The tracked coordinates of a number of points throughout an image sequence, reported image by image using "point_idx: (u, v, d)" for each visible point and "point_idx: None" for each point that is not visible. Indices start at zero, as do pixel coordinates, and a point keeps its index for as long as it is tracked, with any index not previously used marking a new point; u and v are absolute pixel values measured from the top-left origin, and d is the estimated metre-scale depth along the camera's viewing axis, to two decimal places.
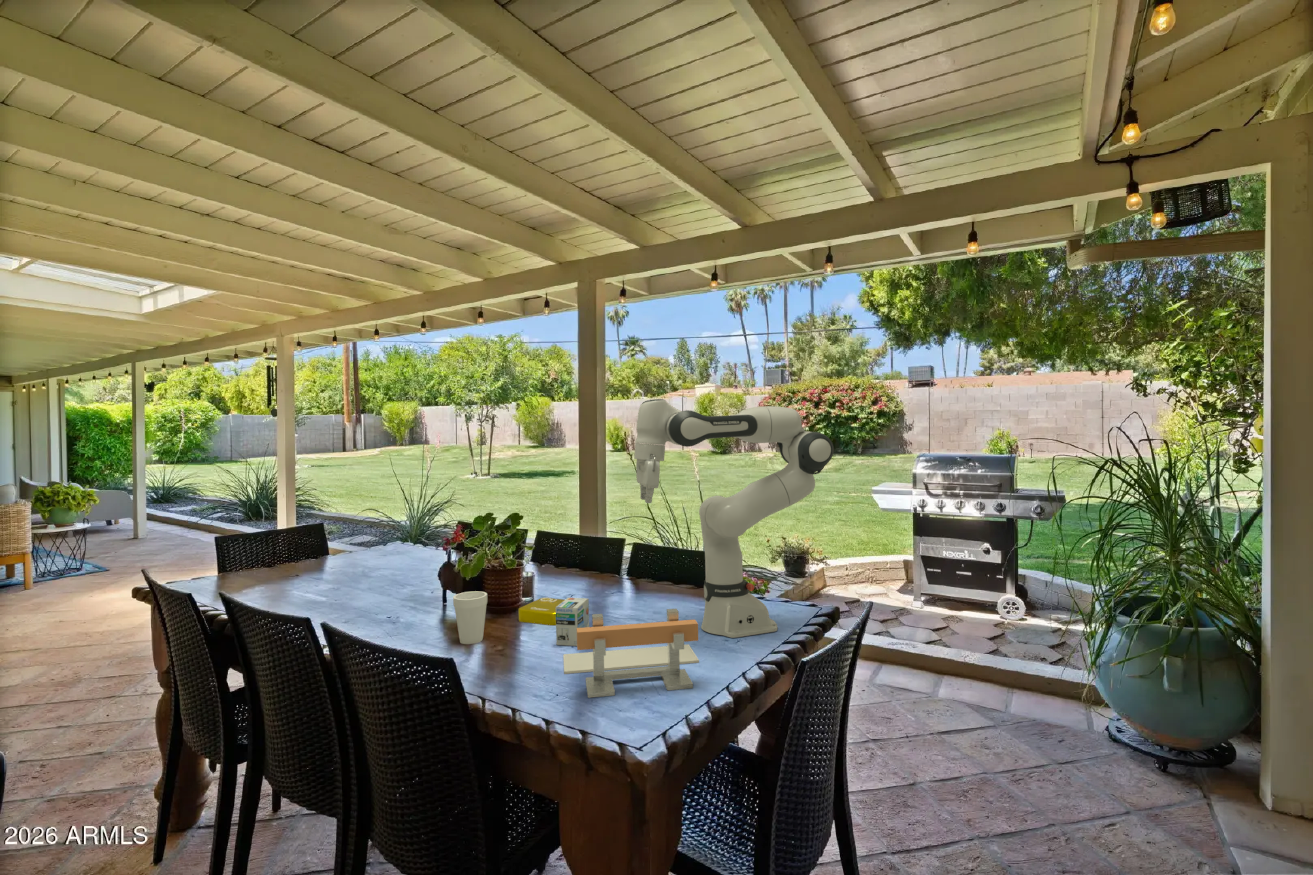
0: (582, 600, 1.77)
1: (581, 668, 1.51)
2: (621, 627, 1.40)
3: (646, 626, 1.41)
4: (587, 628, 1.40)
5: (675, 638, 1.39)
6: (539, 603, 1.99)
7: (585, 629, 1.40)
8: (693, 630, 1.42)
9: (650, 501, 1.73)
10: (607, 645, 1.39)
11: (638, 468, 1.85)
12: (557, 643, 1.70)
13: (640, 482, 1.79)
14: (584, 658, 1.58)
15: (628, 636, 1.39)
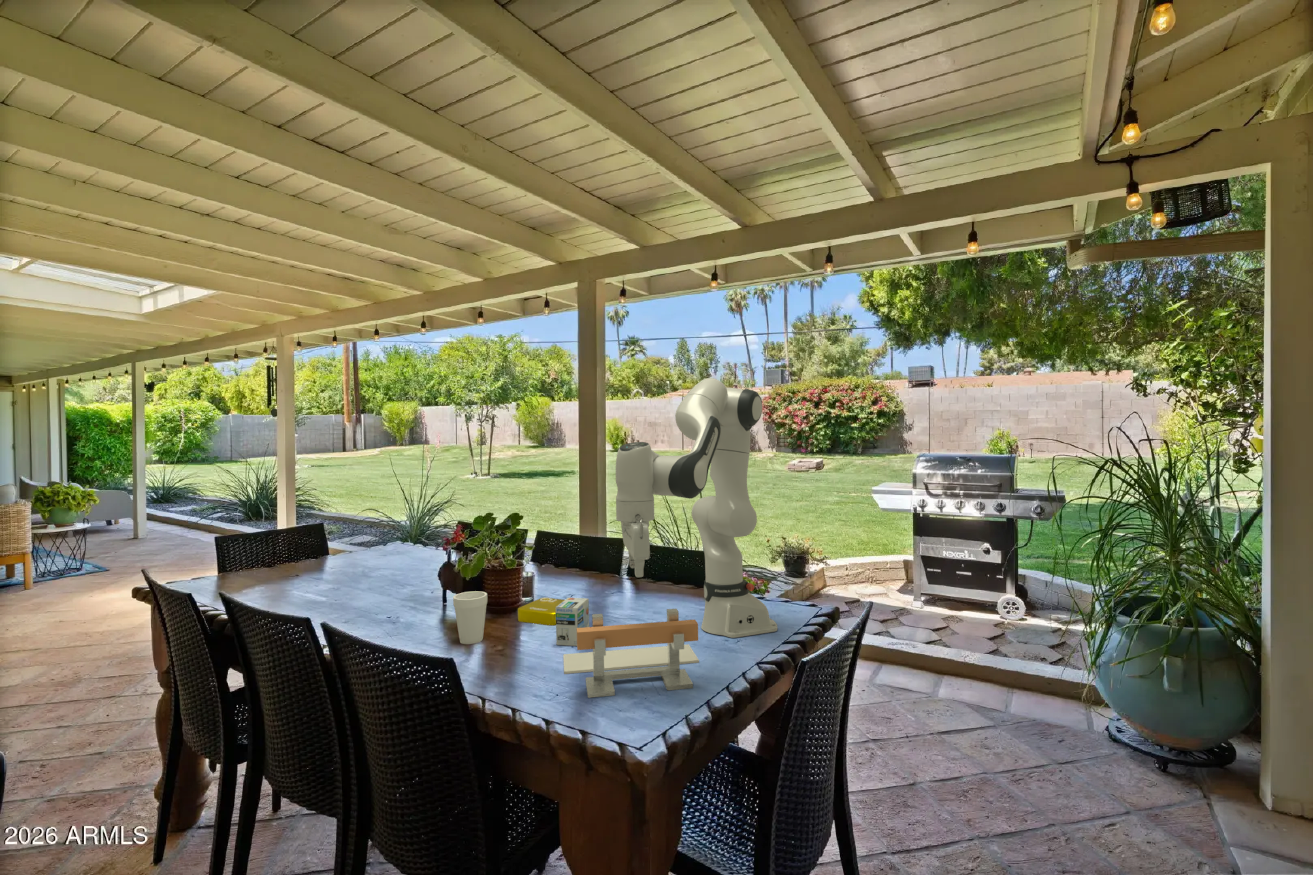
0: (582, 600, 1.77)
1: (581, 668, 1.51)
2: (621, 627, 1.40)
3: (646, 626, 1.41)
4: (587, 628, 1.40)
5: (675, 638, 1.39)
6: (539, 603, 1.99)
7: (585, 629, 1.40)
8: (693, 630, 1.42)
9: (641, 574, 1.36)
10: (607, 645, 1.39)
11: (624, 528, 1.49)
12: (557, 643, 1.70)
13: (627, 548, 1.42)
14: (584, 658, 1.58)
15: (628, 636, 1.39)
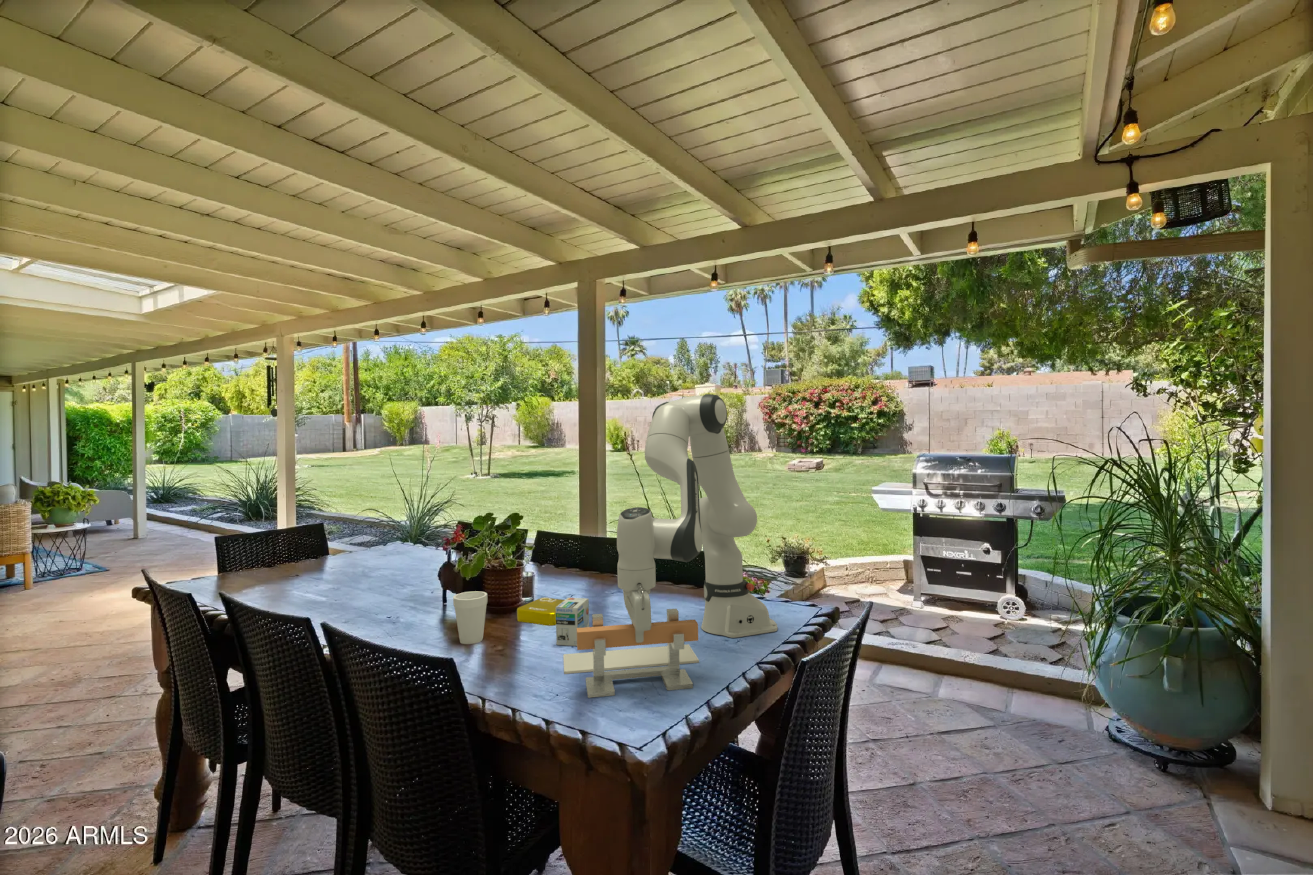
0: (582, 600, 1.77)
1: (581, 668, 1.51)
2: (621, 627, 1.40)
3: None
4: (587, 628, 1.40)
5: (675, 638, 1.39)
6: (538, 603, 1.99)
7: (585, 629, 1.40)
8: (693, 630, 1.42)
9: (641, 640, 1.39)
10: (607, 645, 1.39)
11: None
12: (557, 643, 1.70)
13: None
14: (584, 658, 1.58)
15: (628, 636, 1.39)
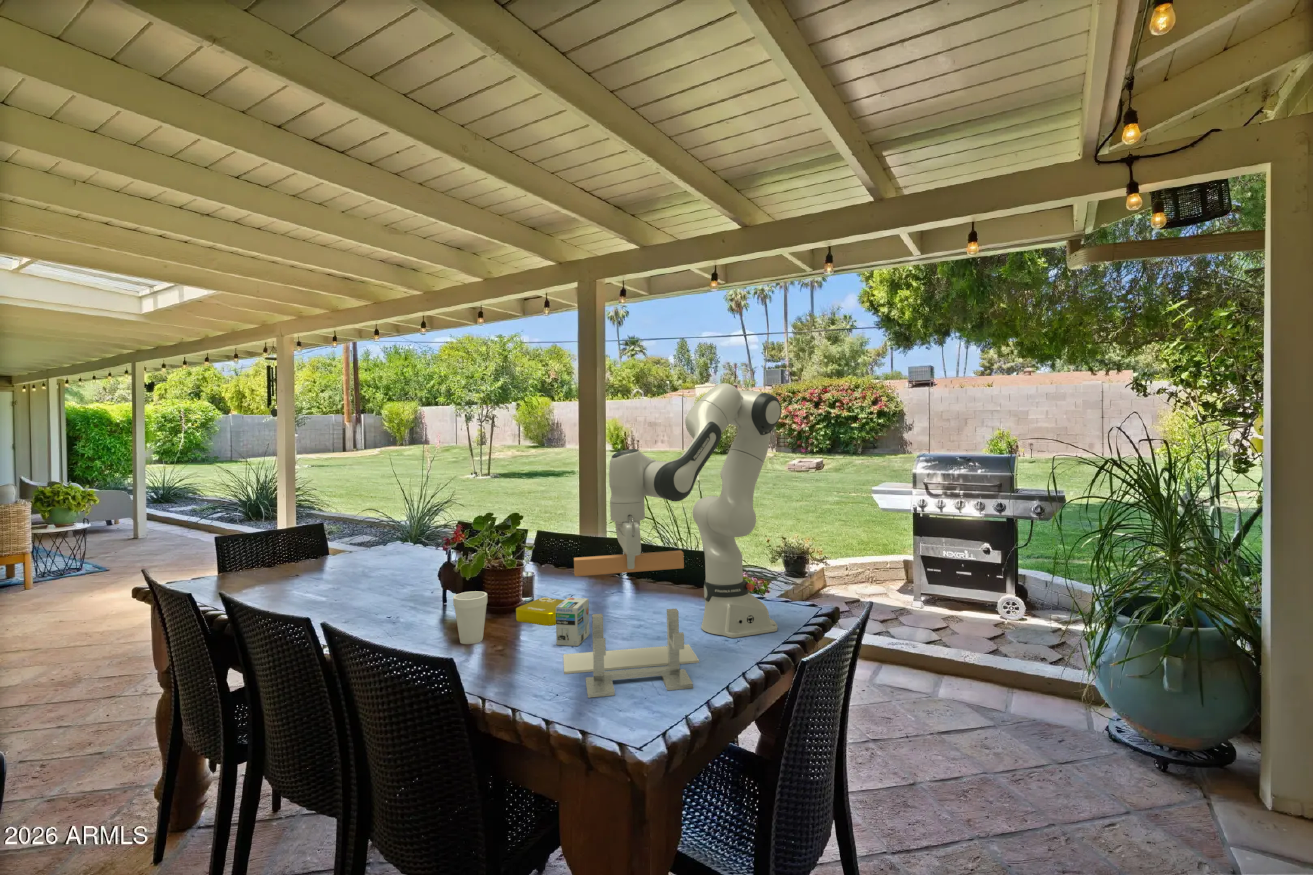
0: (582, 600, 1.77)
1: (581, 668, 1.51)
2: (614, 556, 1.55)
3: (636, 555, 1.56)
4: (584, 557, 1.55)
5: (675, 638, 1.39)
6: (537, 603, 1.99)
7: (581, 558, 1.55)
8: (679, 559, 1.57)
9: (633, 566, 1.54)
10: (601, 572, 1.54)
11: (617, 527, 1.64)
12: (557, 643, 1.70)
13: (621, 545, 1.58)
14: (584, 658, 1.58)
15: (621, 564, 1.55)
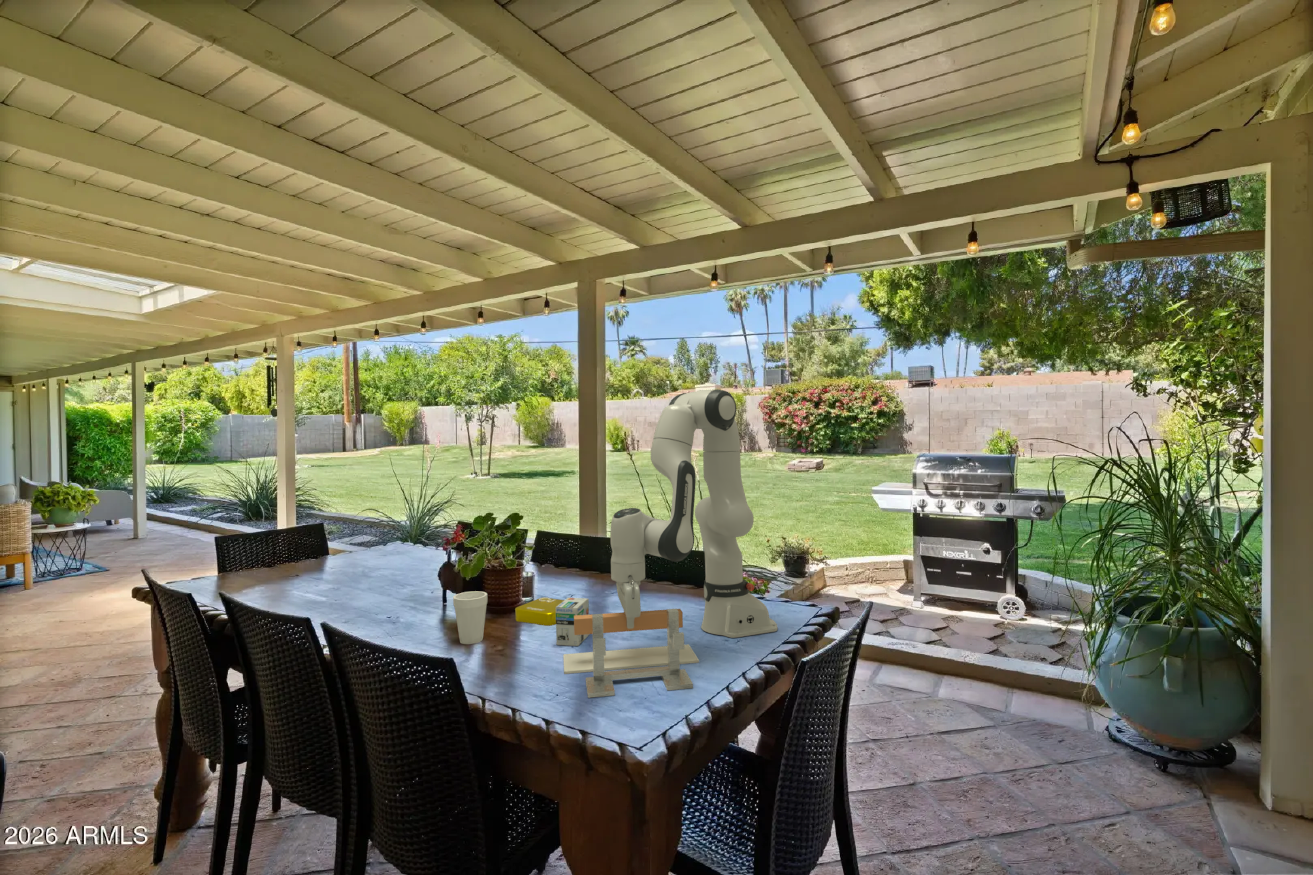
0: (582, 600, 1.77)
1: (581, 668, 1.51)
2: (613, 615, 1.57)
3: None
4: (584, 616, 1.57)
5: (675, 638, 1.39)
6: (537, 603, 1.99)
7: (581, 616, 1.56)
8: None
9: (632, 626, 1.55)
10: None
11: None
12: (557, 643, 1.70)
13: (621, 603, 1.59)
14: (584, 658, 1.58)
15: (620, 623, 1.56)
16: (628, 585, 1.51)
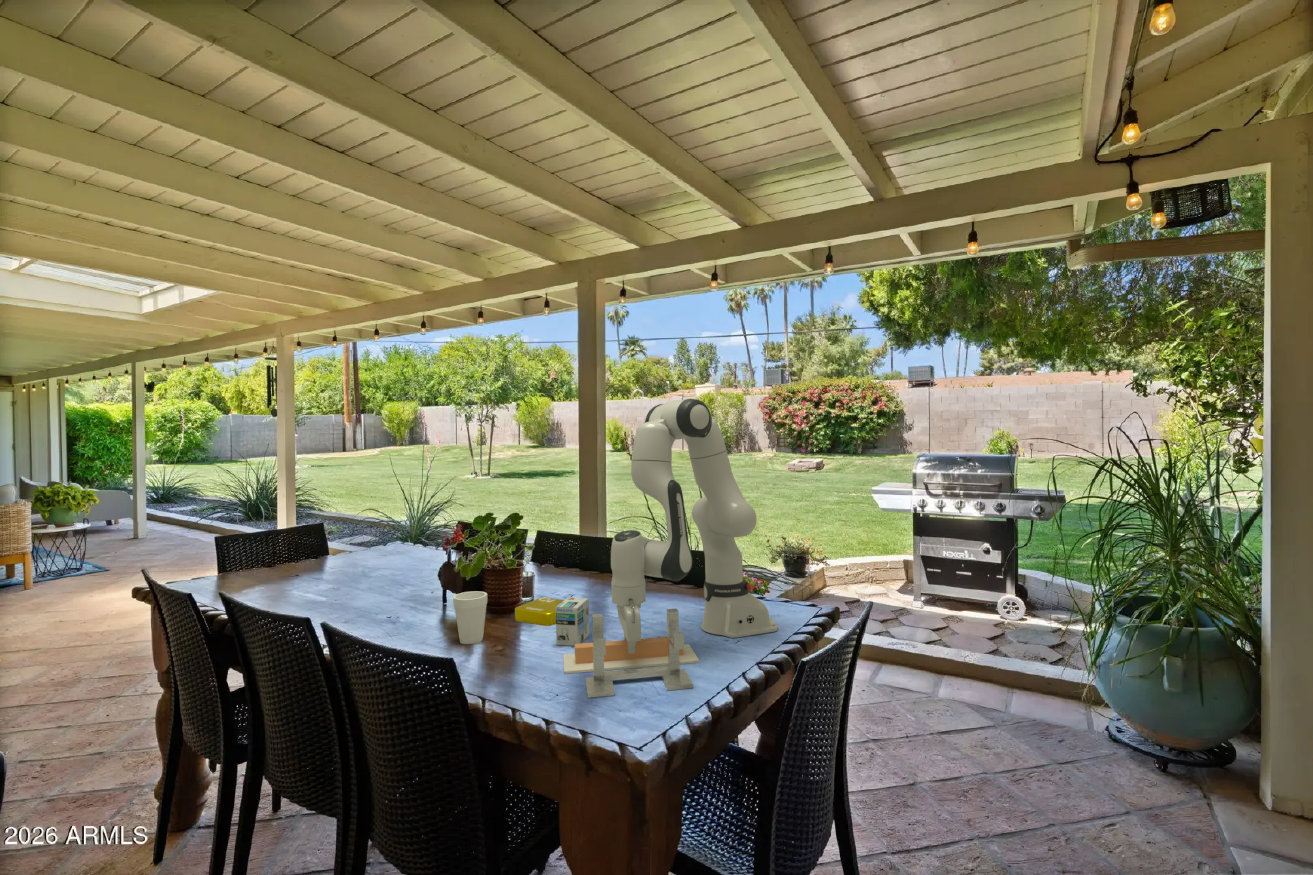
0: (582, 600, 1.77)
1: (581, 668, 1.51)
2: (614, 643, 1.57)
3: (636, 642, 1.58)
4: (584, 644, 1.57)
5: (675, 638, 1.39)
6: (537, 603, 1.99)
7: (582, 645, 1.56)
8: None
9: (633, 651, 1.54)
10: None
11: None
12: (557, 643, 1.70)
13: None
14: None
15: (621, 651, 1.56)
16: (628, 609, 1.51)
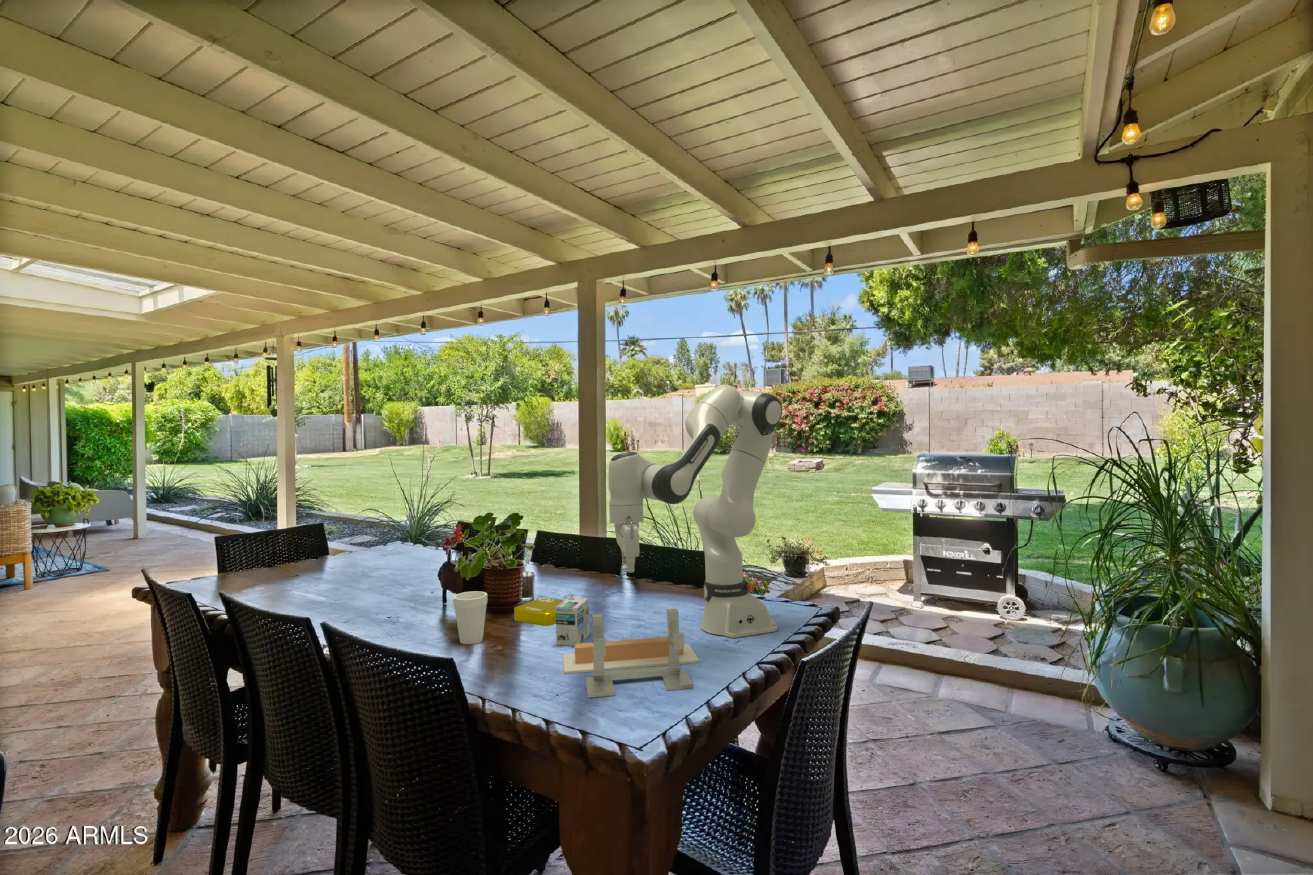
0: (582, 600, 1.77)
1: (581, 668, 1.51)
2: (614, 643, 1.57)
3: (636, 642, 1.58)
4: (584, 644, 1.57)
5: (675, 638, 1.39)
6: (536, 603, 1.99)
7: (582, 645, 1.56)
8: None
9: (632, 570, 1.54)
10: None
11: (617, 529, 1.66)
12: (557, 643, 1.70)
13: (620, 547, 1.60)
14: None
15: (621, 651, 1.56)
16: (627, 525, 1.52)
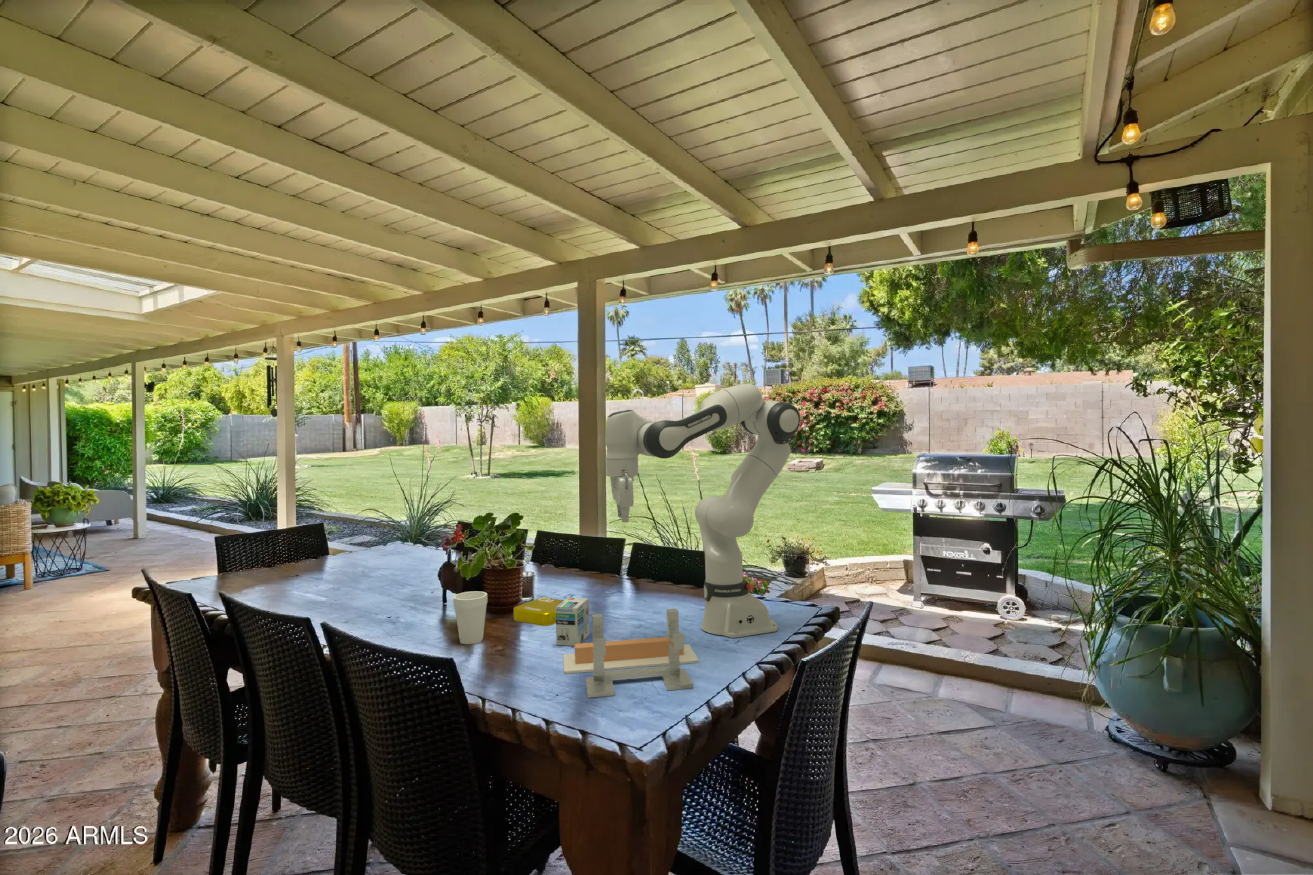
0: (582, 600, 1.77)
1: (581, 668, 1.51)
2: (614, 643, 1.57)
3: (636, 642, 1.58)
4: (584, 644, 1.57)
5: (675, 638, 1.39)
6: (536, 603, 1.99)
7: (582, 645, 1.56)
8: None
9: (627, 520, 1.62)
10: None
11: (613, 484, 1.74)
12: (557, 643, 1.70)
13: (615, 500, 1.68)
14: None
15: (621, 651, 1.56)
16: (622, 477, 1.60)
